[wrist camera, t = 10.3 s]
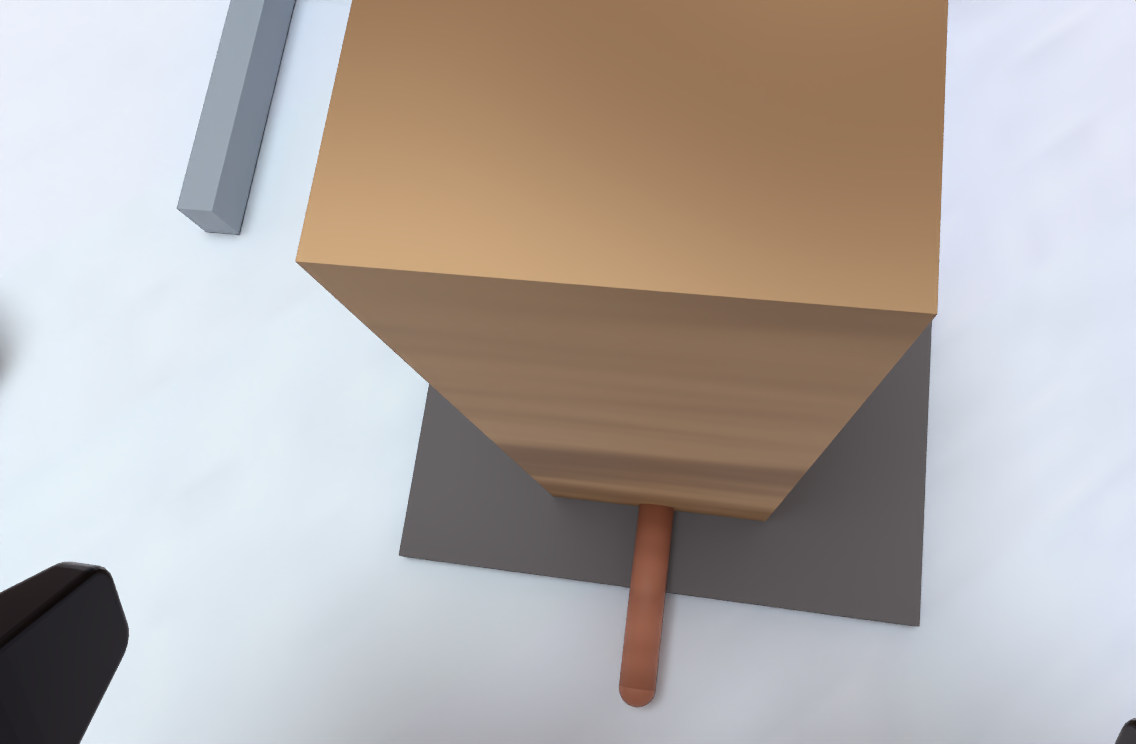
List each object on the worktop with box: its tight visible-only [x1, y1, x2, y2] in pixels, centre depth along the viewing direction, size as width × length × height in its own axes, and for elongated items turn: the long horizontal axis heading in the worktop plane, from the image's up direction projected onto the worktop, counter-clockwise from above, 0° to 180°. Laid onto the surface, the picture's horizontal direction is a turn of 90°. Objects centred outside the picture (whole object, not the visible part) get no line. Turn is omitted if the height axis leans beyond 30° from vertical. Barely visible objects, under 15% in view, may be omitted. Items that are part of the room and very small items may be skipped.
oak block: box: [296, 0, 948, 707], centre depth 14 cm, size 9×5×15 cm, turn 172°
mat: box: [399, 321, 932, 626], centre depth 22 cm, size 8×12×1 cm, turn 82°
